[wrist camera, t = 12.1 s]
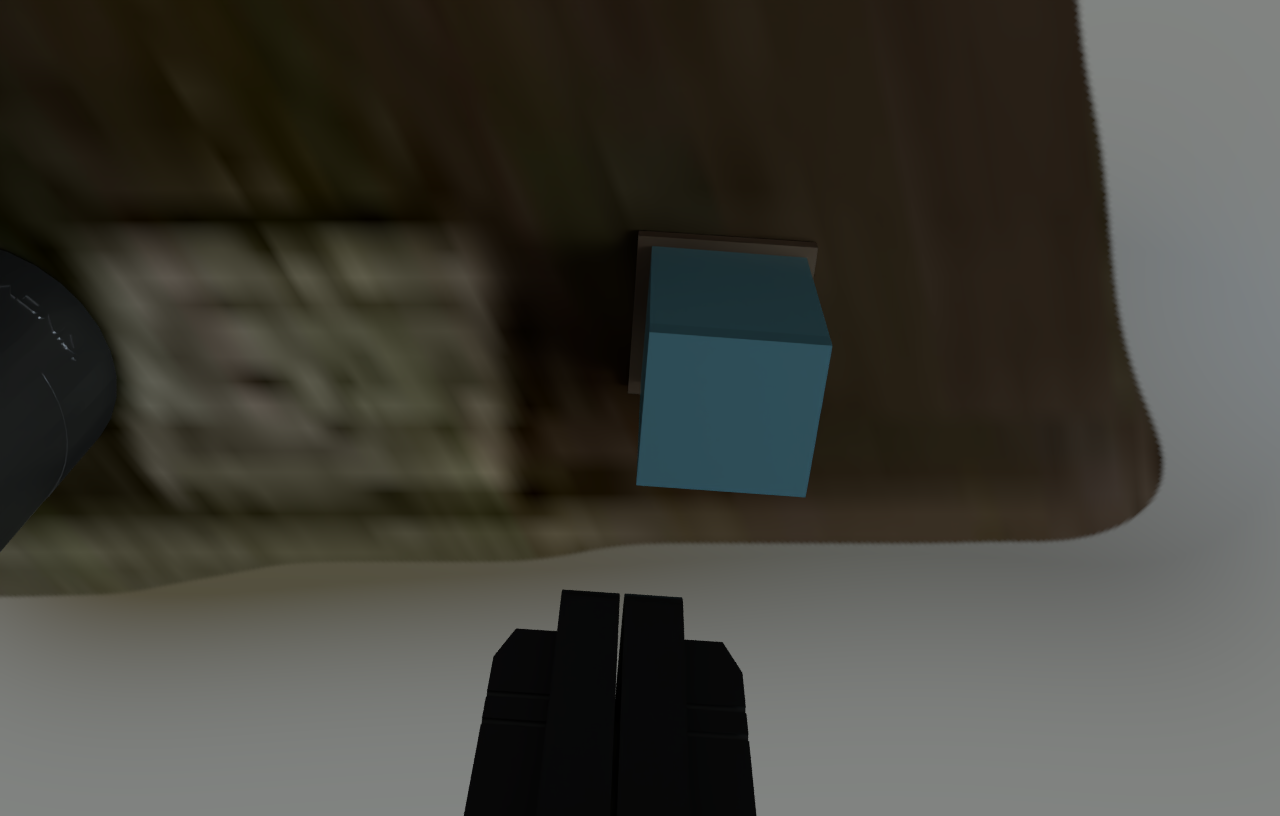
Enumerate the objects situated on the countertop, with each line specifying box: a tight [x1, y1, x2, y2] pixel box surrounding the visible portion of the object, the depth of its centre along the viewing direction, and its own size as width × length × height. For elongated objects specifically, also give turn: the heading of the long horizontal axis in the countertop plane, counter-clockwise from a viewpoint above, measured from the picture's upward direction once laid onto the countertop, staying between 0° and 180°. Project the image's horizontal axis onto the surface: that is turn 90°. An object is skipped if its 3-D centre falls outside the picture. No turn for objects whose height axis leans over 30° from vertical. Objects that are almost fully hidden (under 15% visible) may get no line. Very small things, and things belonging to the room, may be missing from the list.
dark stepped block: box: [628, 230, 818, 394], centre depth 36 cm, size 6×6×6 cm
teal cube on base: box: [636, 246, 832, 497], centre depth 36 cm, size 5×5×7 cm
